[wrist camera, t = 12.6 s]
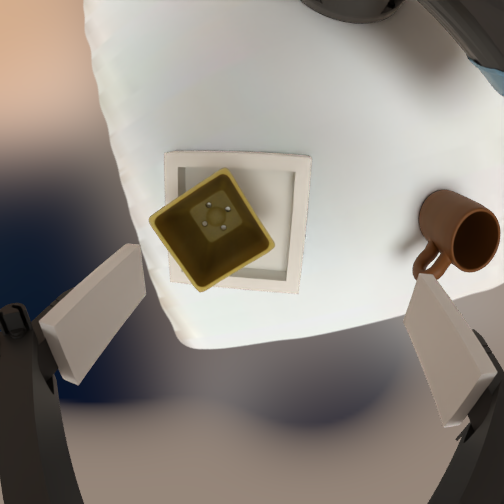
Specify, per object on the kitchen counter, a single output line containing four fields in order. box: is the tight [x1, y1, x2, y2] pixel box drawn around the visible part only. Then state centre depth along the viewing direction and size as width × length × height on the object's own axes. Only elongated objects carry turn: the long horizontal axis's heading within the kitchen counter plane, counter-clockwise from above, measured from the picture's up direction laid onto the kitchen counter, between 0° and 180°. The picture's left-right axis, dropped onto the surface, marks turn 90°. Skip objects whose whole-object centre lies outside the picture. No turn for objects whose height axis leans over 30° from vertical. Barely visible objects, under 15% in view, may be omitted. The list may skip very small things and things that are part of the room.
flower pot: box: [149, 167, 275, 292], centre depth 31 cm, size 9×9×9 cm
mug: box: [413, 190, 500, 280], centre depth 30 cm, size 12×8×9 cm, turn 134°
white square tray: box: [164, 151, 312, 294], centre depth 35 cm, size 16×16×4 cm
